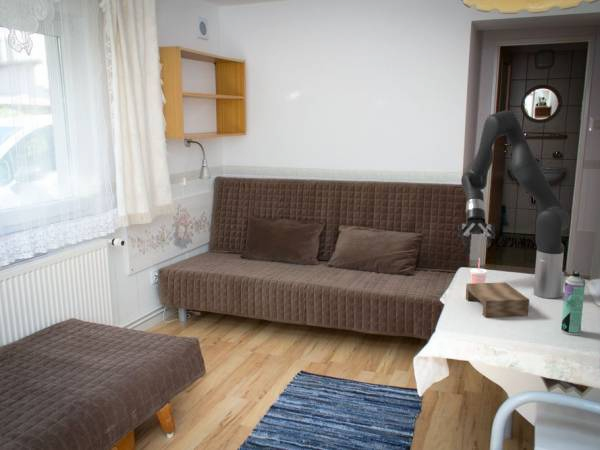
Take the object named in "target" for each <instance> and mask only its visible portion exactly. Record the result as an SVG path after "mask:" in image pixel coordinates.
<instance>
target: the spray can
mask: <svg viewBox="0 0 600 450" xmlns="http://www.w3.org/2000/svg"><path fill="white" fill-rule="evenodd" d="M585 281H586V280H585V279H584V278H582V276H581V275H580V272H579V271H577V270H573V271H572V274H570V276H567V277H566V278H565V281H564V282H565V284H564V295H563V305H562V307H563V308H562V317H561V329H560V331H561V333H562V334H565V335H566V336H567V335H568V336H578V335H581V330H582V329H581V328H582V320H583V319H582V317H583V307H584V299H585V298H584V297H585V290H586V289H585V287H586V282H585Z"/></svg>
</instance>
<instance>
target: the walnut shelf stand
mask: <svg viewBox="0 0 600 450" xmlns="http://www.w3.org/2000/svg"><path fill="white" fill-rule="evenodd" d="M465 285H466V287H465V300H466V301H467V302H477V301H478V302H480V303H481V304H483V305H482V316H483V317H484V318H486V319H487V318H509V317H511V318H512V317H528V316H529V309H530V298H528V297H526V295H524V294H522V293H521V292H519V291H518V290H517V289H516V288H514V287H513V286H511V285H510V284H509V283H508V282H485V283H471V282H470V283H466V284H465Z"/></svg>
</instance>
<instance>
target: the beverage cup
mask: <svg viewBox="0 0 600 450" xmlns="http://www.w3.org/2000/svg"><path fill="white" fill-rule="evenodd" d="M477 264H478V265H477V268H476V267H475V268H473V267H472V268H471V269H469V270H470V272H469V273H470V284H471V283H486V278H487V273H488V270H487V269H484V268H480V266H481V265H480V264H481V257H478V263H477Z"/></svg>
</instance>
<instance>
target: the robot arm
mask: <svg viewBox="0 0 600 450" xmlns="http://www.w3.org/2000/svg"><path fill="white" fill-rule="evenodd" d="M504 136H506V138H507V139H508V141H509V144H510V146H511V168H512V169H511V170H512V172H513V174H514V176H515V178H516V180H517V182H518V183H519V185H520V186H521V188H522V189H523V190H524V191H526V193H528V194H529V195H530V196H531V198H533V199H534V201H536V203H537V206H538V207H539V209H540V211H541V212H540V213H539V214H538V216H537V218H536V223H535V244H536V256H535V257H536V258H535V269H534V281H533V294H534V296H536V297H538V298H539V297H540V298H542V299H543V298H544V299H558V298H560V297H563V291H564V282H565V281H564V279H565V272H564V271H563V263H564V252H565V245H564V244H563V243H562V232H563V231H565V230H566V229H568V227H569V225H570V217H569V214H568V212H567V211H566V209H565V207H564V206H563V205H562V204H561V202H560V200H559V199H558V197H557V196H556V194H555V192H554V191H553V189H552V187H551V185H550V182H549V181H548V179H547V177H546V175H545V174H544V171H543V169H542V168H541V165H540V163H539V162H538V160H537V158H536V156H535V155H534V153H533V151H532V148H531V147H530V145H529V143H528V141H527V138H526V137H525V134H524V132H523V129H522V127H521V124H520V121H519V119H518V118H517V116H516V114H515V113H514V112H513V111H511V110H509V109H506V110H501V111H499V112H494V113H492V114H489V115H488V116H487V117H486V119H485V121H484V124H483V128H482V133H481V137H480V142H479V145H478V150H477V153H476V155H475V157H474V160H473V162H472V164H471V171H466V172H464V173H463V174H462V176H461V186H462V189H463V191H464V195H465V197H466V198H465V199H466V200H465V201H466V204H465V205H466V206H465V217H466V219H465V221H466V223H463V222H461V221H459V222H458V231H457V237H458V238H462V245H463V246H464V247H467V245H468V239H467V237H468V236H470V234H471V235H482V236H483V237H485V240H486V242H485V243H486V248H489V247H490V246H491V244H492V242H491V241H492V240H491V239H495V238H496V237H495V236H496V228H495V223H493V222H491V223H488V224H487V222H486V206H485V199H484V192H483V191H482V190H484V189H485V188H486V187H487V185H488V175H489V171H490V167H491V166H492V164H493V162H494V160H495V158H494V156H495V154H494V149H493V145H494V144H495V142H496V140H497V139H498V138H500V137H504ZM464 228H465V229H466V230H465V231H464V233H463V231H462V230H464ZM487 229H488V230H489V231H490V233H489V231H488V230H487Z"/></svg>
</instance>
